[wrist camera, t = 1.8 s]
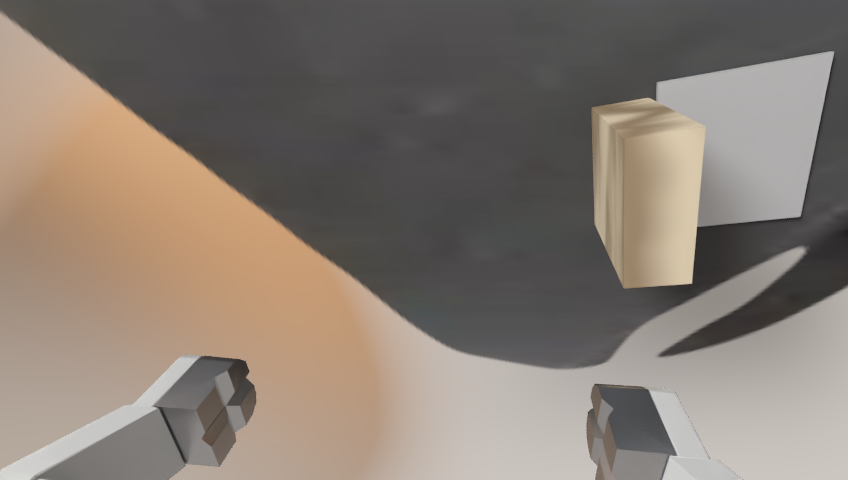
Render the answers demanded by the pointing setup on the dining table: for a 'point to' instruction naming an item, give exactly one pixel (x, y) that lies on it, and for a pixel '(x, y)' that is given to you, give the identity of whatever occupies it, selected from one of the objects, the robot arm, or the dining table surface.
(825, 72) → the mat
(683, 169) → the birch slab
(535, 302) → the dining table surface
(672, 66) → the dining table surface
